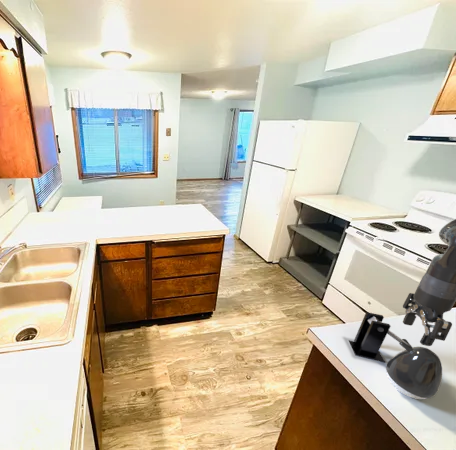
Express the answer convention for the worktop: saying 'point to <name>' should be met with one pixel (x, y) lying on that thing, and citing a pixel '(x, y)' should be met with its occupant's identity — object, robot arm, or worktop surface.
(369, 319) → the lever
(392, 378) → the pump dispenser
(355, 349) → the bracket
